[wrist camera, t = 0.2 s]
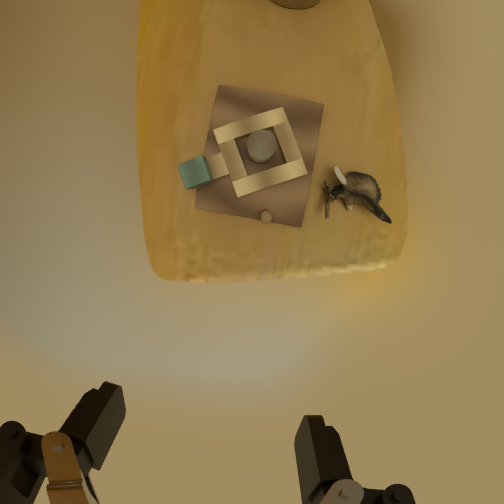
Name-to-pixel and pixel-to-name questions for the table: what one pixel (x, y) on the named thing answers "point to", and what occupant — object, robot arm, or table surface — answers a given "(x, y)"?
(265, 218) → the dowel pin
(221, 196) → the post board
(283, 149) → the square frame with handle
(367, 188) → the brown squirrel figurine
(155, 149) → the table surface
